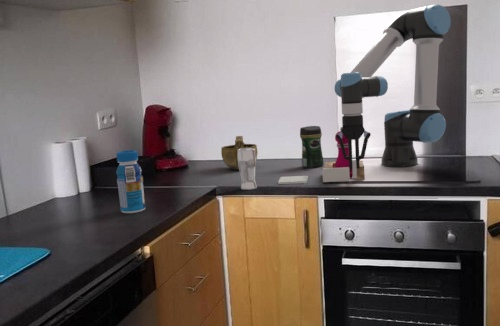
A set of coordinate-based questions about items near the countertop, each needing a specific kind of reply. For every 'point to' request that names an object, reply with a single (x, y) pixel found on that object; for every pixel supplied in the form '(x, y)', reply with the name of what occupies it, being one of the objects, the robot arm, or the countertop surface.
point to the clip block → (359, 171)
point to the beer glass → (247, 168)
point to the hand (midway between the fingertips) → (354, 177)
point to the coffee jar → (311, 146)
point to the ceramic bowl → (235, 152)
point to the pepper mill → (340, 159)
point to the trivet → (293, 180)
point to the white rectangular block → (336, 174)
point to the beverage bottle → (130, 182)
